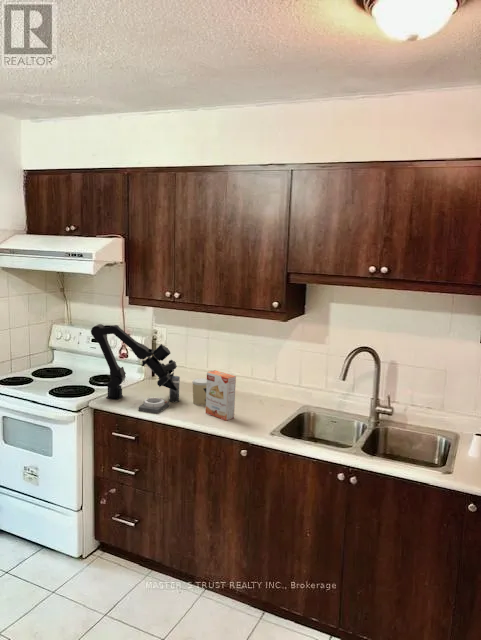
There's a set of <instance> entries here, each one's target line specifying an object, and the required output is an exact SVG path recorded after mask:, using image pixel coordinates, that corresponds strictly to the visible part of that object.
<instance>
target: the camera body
mask: <svg viewBox="0 0 481 640" xmlns="http://www.w3.org/2000/svg"><path fill="white" fill-rule="evenodd" d="M169 406H170V401H166V400H164V399H163V397H154V396H153V397H147V398H145V399H143V404H141V405H140V406H139V407H138V412H143V413H149V414H156V415H158V414H160V413H161V412H163V411H164V410H165V409H166V408H168V407H169Z"/></svg>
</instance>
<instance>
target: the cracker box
mask: <svg viewBox="0 0 481 640" xmlns="http://www.w3.org/2000/svg"><path fill="white" fill-rule="evenodd" d="M206 379H207V386H206V405H205V414H208V415H210V416H213V417H215V418H218V419H220V420H223V421H229V420H233V419H234V418H235V408H236V407H235V406H236V405H235V404H236V403H235V401H236V385H237V384H236V383H237V376H236V375H233V374H228V373H226V372H222V371H219V370H216V369H215V370H209V371H207V372H206Z"/></svg>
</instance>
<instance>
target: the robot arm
mask: <svg viewBox="0 0 481 640" xmlns="http://www.w3.org/2000/svg"><path fill="white" fill-rule="evenodd" d="M90 334H91V336H92V338H93V339H94V340H95V341H96V342H97V343H98V344H99V347H100V349H101V352H102V354H103V356H104V359H105V361H106V363H107V366H108V367H109V377H110V380H109V381H108V382H107V383H106V387H107V396H106V397H105V398H106V399H110V400H118V399H121V398H122V397H124V395H123V388H122V385H121V384H122V383H123V382H124V380H125V379H126V374H127V373H126V371H125V369H124V367H123V366H121V367H120V365H119V364H118V362H117V360H116V358H115V355H114V353H113V350H112V348H111V346H110V343H109V341H108V335H114V336H115V337H116V338H118V339H119V340H121V342H122V343H124V344H125V345H126V346H128V347H129V348H130V349H131V350H132V353H133V354H134V355H135V356H136V358H137V359H139V360H142V363H141V366H142V367H144V366H146V365H147V367H148V369H150V370H151V371H152V374H153V375H156V376H157V377H158V378H157V382H156V383H157V386H158V387H159V388H161V387H165V388H167V389H169V390H170V389H172V390H175V391H176V390H177V388H176V387H175V385H174V384H173V383H172V381H171V376H175V369H177V367H178V365H177V361H175V360H173V359H170V360H169V361H168V363H166V364H164V363H162V362H163V361H164V360H165V359H166V358H167V357H168V356H169V355H171V351H170V349H169V348H168V347H167V346H165V345H163V344H162V343H161V344H160V345H158V346H157V348H155V349H153V348H149V347H147V346H146V345H144V344H143V343H140V342H138V341H137V340H136V339H134V338H133V337H132V336H131V335H129V334H128V333H127V332H125V330H123V329H122V328H121V327H120V326H119V325H117V324H114V325H107V324H106V325H104V324H101V323H99V324H96V325H94V326H93V327H92V328H91V329H90ZM160 361H162V362H160Z"/></svg>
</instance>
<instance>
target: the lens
mask: <svg viewBox="0 0 481 640" xmlns="http://www.w3.org/2000/svg"><path fill="white" fill-rule="evenodd" d="M180 379H181V377H180V376H177V375H174V376H171V381H172V383H173V384H174V385H175V387H176V388H177V390H176V391H175V390H172V389H170V388H169V390H168V391H169V399H168V402H169V403H179V402H180V382H181V381H180Z"/></svg>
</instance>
